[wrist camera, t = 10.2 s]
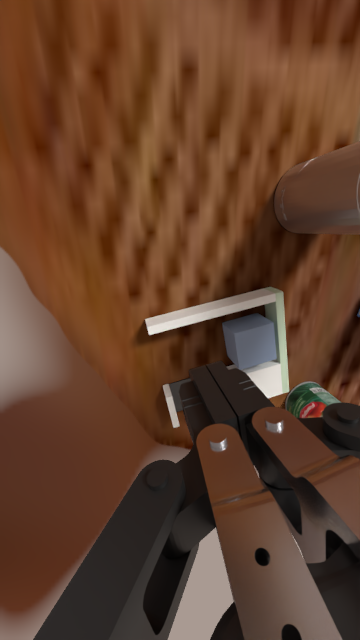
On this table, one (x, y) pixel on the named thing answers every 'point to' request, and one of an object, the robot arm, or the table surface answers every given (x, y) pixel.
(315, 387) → the canned tomato
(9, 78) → the table surface
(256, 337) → the block
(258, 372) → the white open shelf
